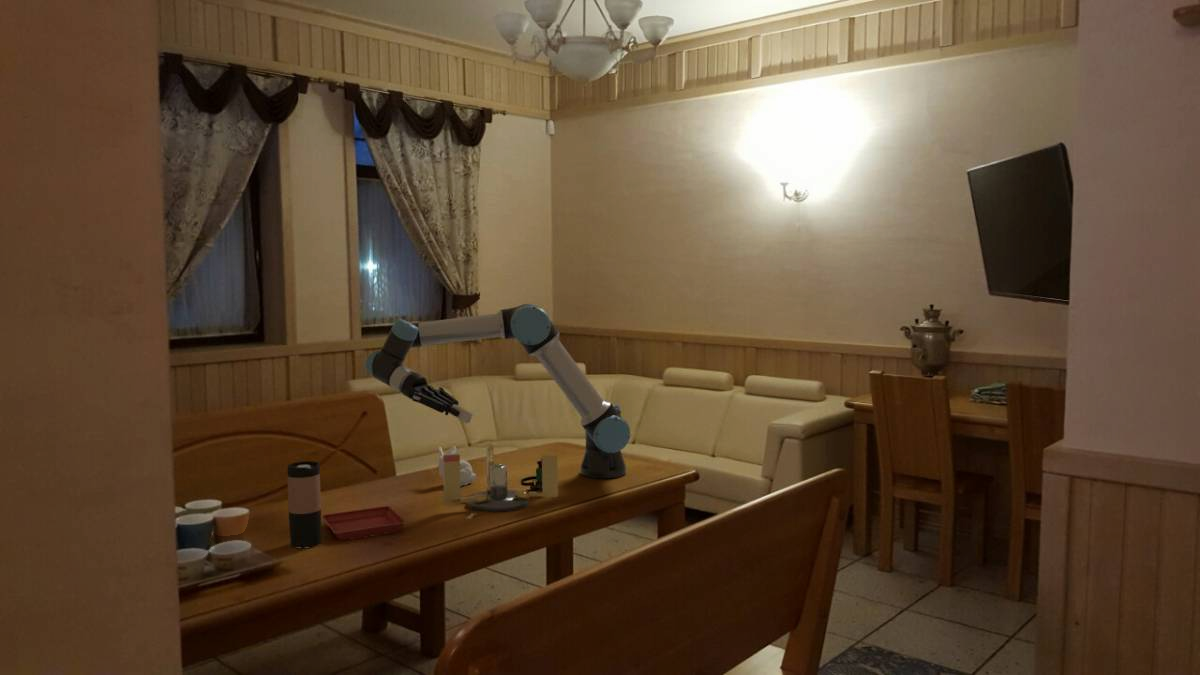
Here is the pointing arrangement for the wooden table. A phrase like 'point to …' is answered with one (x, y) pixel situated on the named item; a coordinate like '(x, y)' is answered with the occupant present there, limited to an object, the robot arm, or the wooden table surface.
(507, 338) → the robot arm
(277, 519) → the wooden table surface
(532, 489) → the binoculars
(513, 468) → the wooden table surface
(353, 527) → the plant saucer
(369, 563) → the wooden table surface
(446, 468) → the beige u-shaped piece
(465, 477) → the rabbit
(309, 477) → the travel mug
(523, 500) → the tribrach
